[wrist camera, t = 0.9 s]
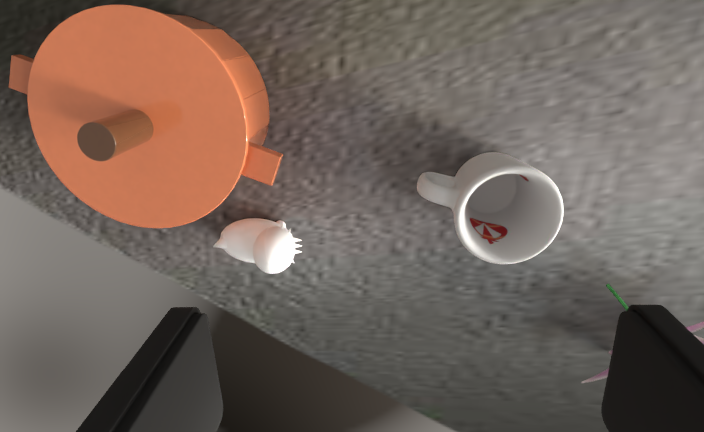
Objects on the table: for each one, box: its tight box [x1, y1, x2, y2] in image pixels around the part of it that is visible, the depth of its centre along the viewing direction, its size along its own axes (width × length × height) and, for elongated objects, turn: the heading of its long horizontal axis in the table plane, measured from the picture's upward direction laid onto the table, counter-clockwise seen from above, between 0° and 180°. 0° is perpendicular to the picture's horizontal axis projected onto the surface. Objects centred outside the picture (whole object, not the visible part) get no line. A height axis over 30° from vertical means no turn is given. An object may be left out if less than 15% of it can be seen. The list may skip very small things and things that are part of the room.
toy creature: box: [213, 218, 302, 274], centre depth 42 cm, size 5×8×6 cm, turn 89°
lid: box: [27, 4, 249, 228], centre depth 31 cm, size 16×16×6 cm
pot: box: [9, 14, 283, 186], centre depth 37 cm, size 15×20×8 cm
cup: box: [417, 152, 564, 264], centre depth 38 cm, size 11×8×8 cm
